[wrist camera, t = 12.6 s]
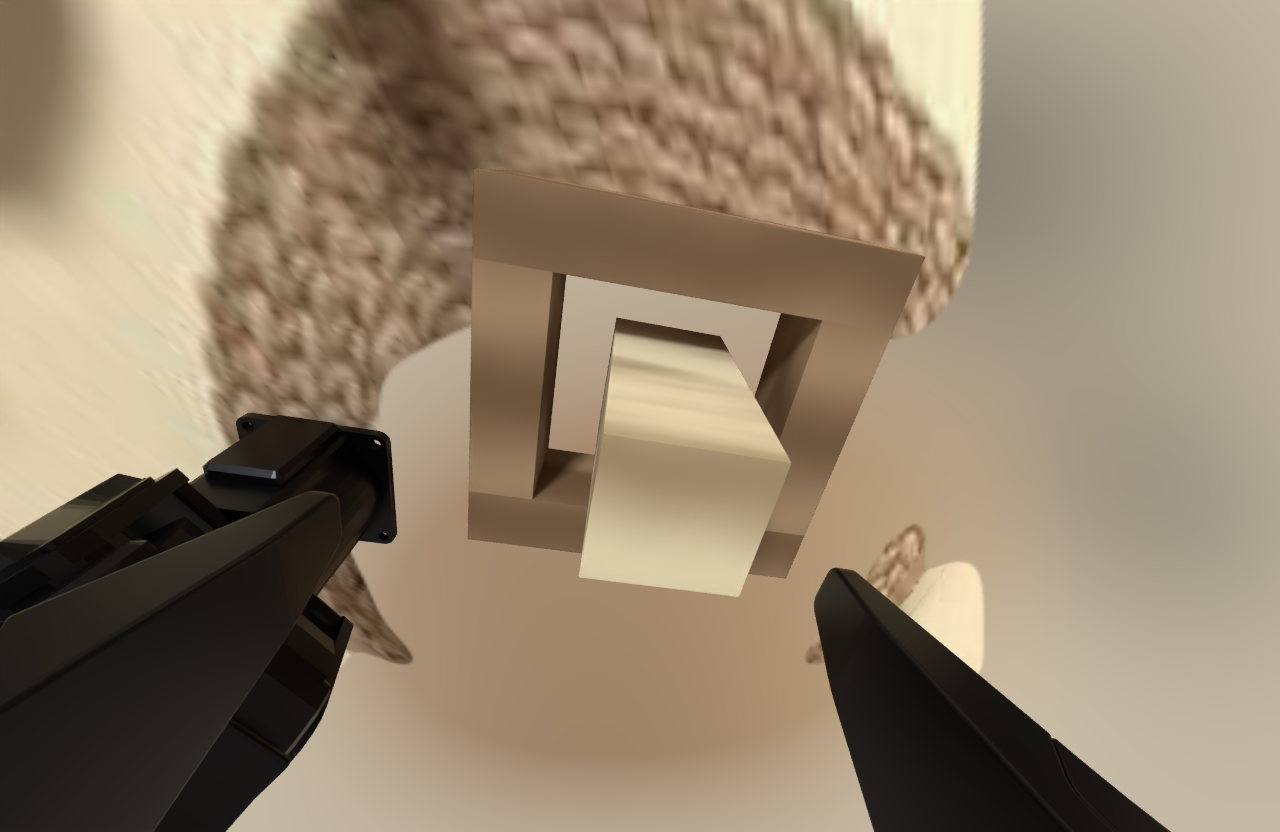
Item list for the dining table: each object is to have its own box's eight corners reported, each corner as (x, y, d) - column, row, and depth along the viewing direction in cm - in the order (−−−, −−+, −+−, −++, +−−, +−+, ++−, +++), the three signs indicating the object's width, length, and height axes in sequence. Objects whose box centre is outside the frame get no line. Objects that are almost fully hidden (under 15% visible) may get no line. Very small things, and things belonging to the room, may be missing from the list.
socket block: (763, 520, 24) (785, 578, 21) (493, 483, 23) (468, 539, 20) (868, 241, 18) (925, 256, 15) (507, 170, 17) (473, 168, 13)
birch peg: (695, 427, 22) (739, 596, 13) (600, 412, 22) (578, 577, 13) (720, 336, 20) (791, 462, 11) (616, 317, 20) (603, 434, 11)
